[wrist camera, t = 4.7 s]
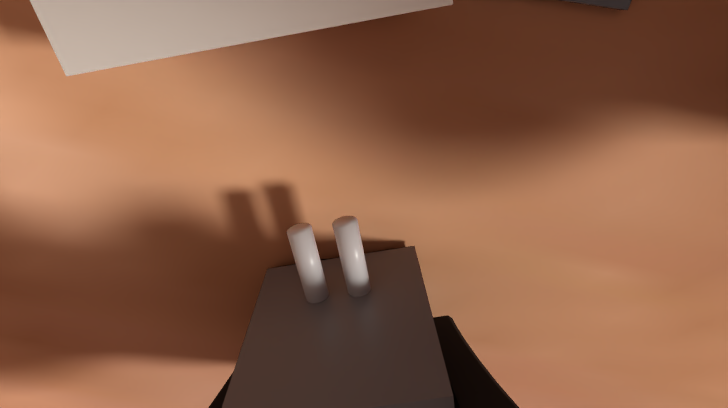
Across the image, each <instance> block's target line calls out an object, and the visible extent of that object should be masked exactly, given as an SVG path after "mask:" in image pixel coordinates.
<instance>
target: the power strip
mask: <svg viewBox="0 0 728 408" xmlns="http://www.w3.org/2000/svg"><path fill="white" fill-rule="evenodd" d="M30 2H31V4H32V6H33V8H34V10H35V12H36V14H37V17H38V19H39V21H40V23H41V25H42V27H43V29H44V31H45V33H46V35H47V37H48V39H49V41H50V43H51V46H52V48H53V50H54V52H55V54H56V56H57V58H58V60H59V62H60V64H61V66H62V68H63V70H64V72H65V74H66V76H71V75H76V74H82V73H87V72H92V71H98V70H103V69H108V68H114V67H119V66H125V65H130V64H135V63H141V62H146V61H152V60H157V59H162V58H168V57H173V56H178V55H184V54H189V53H195V52H200V51H205V50H211V49H216V48H222V47H227V46H232V45H238V44H243V43H249V42H254V41H259V40H265V39H270V38H275V37H281V36H286V35H292V34H297V33H302V32H308V31H313V30H319V29H324V28H329V27H335V26H340V25H345V24H351V23H356V22H362V21H367V20H372V19H378V18H383V17H389V16H394V15H399V14H405V13H410V12H415V11H421V10H426V9H432V8H437V7H442V6H448V5H453V0H30Z"/></svg>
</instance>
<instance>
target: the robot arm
mask: <svg viewBox="0 0 728 408" xmlns="http://www.w3.org/2000/svg"><path fill="white" fill-rule="evenodd" d="M433 320H434V324H435V328H436V331H437V335H438V339H439V343H440V347H441V351H442V354H443V358H444V362H445V366H446V370H447V374H448V377H449V381H450V385H451V389H452V393H453V398H454V408H519V407H518V406H517V405H516V404H515V403H514V401H513V400H512V399H511V398H510V397H509V396H508V395H507V393H506V392H505V391H504V390H503V389H502V388H501V386H500V385H499V384H498V383H497V382H496V380H495V379H494V378H493V377H492V375H491V374H490V373H489V372H488V370H487V369H486V368H485V367H484V365H483V364H482V363H481V362H480V360H479V359H478V358H477V356H476V355H475V353H474V352H473V351H472V349H471V348H470V346H469V345H468V344H467V342H466V341H465V339H464V338H463V336H462V334H461V333H460V331H459V330H458V328H457V326H456V325H455V323H454V321H453V319H452V318H451V317H450V316H441V317H434V318H433ZM233 372H234V371H233ZM232 375H233V373H232V374H231V376H230V377H229V379H228V380H227V382H226V383H225V385H224V386H223V388H222V389H221V391H220V392H219V393H218V395H217V396H216V398H215V399H214V401H213V402H212V403H211V405H210V406H209V408H222V405H223V402H224V399H225V396H226V393H227V390H228V387H229V384H230V381H231V378H232Z"/></svg>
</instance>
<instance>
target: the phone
mask: <svg viewBox="0 0 728 408" xmlns="http://www.w3.org/2000/svg"><path fill="white" fill-rule="evenodd" d="M560 1H567V2H573V3H580V4H586V5H593V6H599V7H606V8H612V9H619V10H628V8H629V5H630V3H631V0H560Z"/></svg>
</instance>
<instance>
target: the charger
mask: <svg viewBox="0 0 728 408" xmlns="http://www.w3.org/2000/svg"><path fill="white" fill-rule="evenodd" d="M332 226H333V230H334V234H335V238H336V243H337V247H338V251H339V256H340V258H333V259H327V260H321V261H320V257H319V253H318V249H317V245H316V241H315V238H314V234H313V230H312V226H311V225H310V224H308V223H299V224H296V225H293V226H291V227H290V228H289V229H288V230H287V236H288V239H289V242H290V246H291V249H292V253H293V256H294V259H295V263H296V264H295V265H288V266H282V267H276V268H269V269H267V271H266V274H265V278H264V281H263V284H262V287H261V290H260V293H259V296H258V299H257V302H256V305H255V308H254V311H253V314H252V317H251V320H250V323H249V326H248V329H247V332H246V335H245V338H244V341H243V345H242V348H241V351H240V354H239V357H238V360H237V363H236V366H235V369H234V372H233V375H232V378H231V381H230V384H229V387H228V390H227V393H226V396H225V399H224V402H223V405H222V408H454V398H453V393H452V389H451V385H450V381H449V377H448V374H447V370H446V366H445V362H444V358H443V354H442V351H441V347H440V343H439V339H438V335H437V331H436V328H435V324H434V320H433V316H432V312H431V308H430V304H429V301H428V297H427V293H426V289H425V285H424V281H423V278H422V274H421V270H420V266H419V262H418V258H417V254H416V251H415V247H414V246H410V247H404V248H398V249H391V250H385V251H378V252H372V253H366V254H364V250H363V245H362V240H361V235H360V230H359V225H358V220H357V218H356V217H354V216H343V217H340V218H338V219H336V220H335V221H334V222H333V223H332Z"/></svg>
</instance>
